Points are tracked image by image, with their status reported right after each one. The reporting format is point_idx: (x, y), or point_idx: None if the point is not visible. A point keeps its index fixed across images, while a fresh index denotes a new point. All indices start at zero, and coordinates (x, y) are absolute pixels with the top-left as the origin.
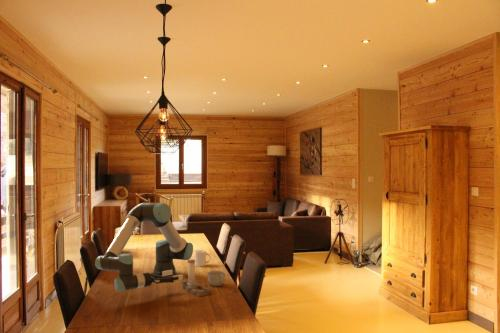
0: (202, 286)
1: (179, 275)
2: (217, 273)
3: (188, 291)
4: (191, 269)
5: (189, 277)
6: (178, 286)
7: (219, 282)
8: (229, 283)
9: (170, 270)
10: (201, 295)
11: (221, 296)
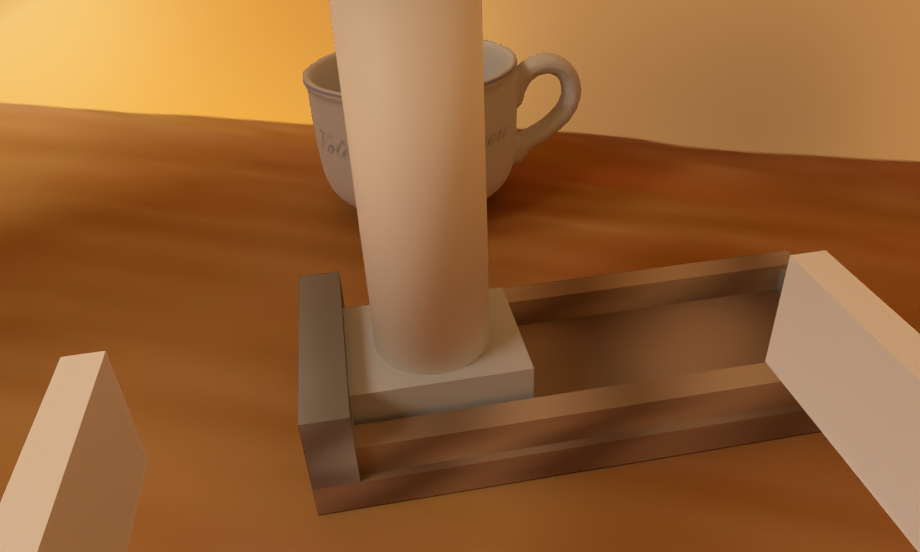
0: (587, 279)
1: (896, 327)
2: (337, 85)
3: (557, 474)
4: (479, 97)
5: (459, 266)
6: (147, 538)
7: (520, 150)
8: None
9: (88, 403)
10: None
11: (899, 244)
